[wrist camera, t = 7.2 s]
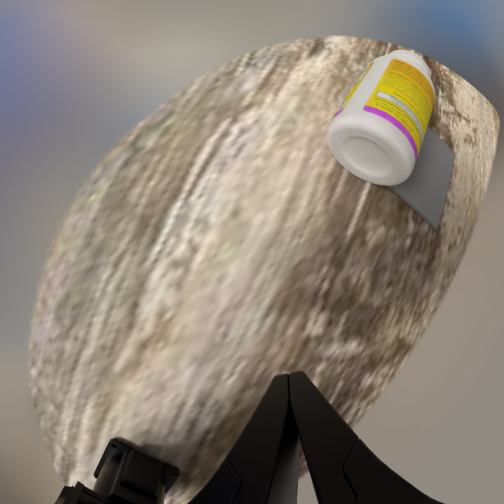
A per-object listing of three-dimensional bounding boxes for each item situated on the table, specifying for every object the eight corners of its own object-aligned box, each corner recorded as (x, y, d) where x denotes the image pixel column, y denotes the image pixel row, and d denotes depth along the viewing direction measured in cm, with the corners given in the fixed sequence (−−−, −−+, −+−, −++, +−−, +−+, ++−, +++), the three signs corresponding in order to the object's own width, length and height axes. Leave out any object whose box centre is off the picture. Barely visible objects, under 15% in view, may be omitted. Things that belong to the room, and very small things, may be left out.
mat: (434, 229, 22) (437, 228, 22) (329, 141, 20) (331, 139, 20) (452, 155, 23) (454, 154, 23) (365, 76, 22) (367, 74, 21)
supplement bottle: (422, 194, 16) (450, 95, 17) (385, 116, 12) (422, 35, 14) (350, 186, 21) (395, 98, 23) (304, 126, 18) (363, 47, 19)
